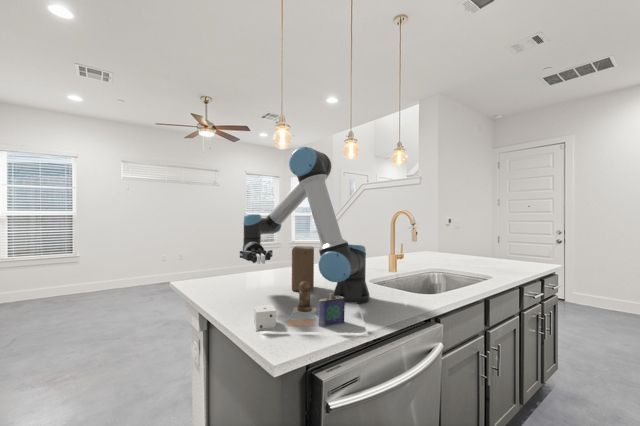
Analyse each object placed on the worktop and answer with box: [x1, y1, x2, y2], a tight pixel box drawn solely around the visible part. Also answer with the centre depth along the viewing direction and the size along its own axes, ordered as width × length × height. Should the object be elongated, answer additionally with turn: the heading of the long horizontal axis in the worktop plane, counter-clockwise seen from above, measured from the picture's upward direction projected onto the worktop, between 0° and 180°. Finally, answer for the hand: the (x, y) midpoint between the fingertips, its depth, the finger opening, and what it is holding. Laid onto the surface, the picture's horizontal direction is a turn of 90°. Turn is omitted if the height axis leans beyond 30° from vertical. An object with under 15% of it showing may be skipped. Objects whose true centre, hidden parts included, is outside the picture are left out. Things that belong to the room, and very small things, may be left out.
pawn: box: [297, 281, 313, 312], centre depth 110 cm, size 5×5×10 cm
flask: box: [318, 292, 346, 328], centre depth 96 cm, size 9×3×11 cm, turn 117°
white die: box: [253, 304, 277, 333], centre depth 95 cm, size 6×6×6 cm
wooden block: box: [291, 245, 315, 292], centre depth 144 cm, size 10×10×20 cm
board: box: [287, 306, 317, 327], centre depth 103 cm, size 9×20×1 cm, turn 178°
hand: (261, 259), depth 103 cm, fingers closed
